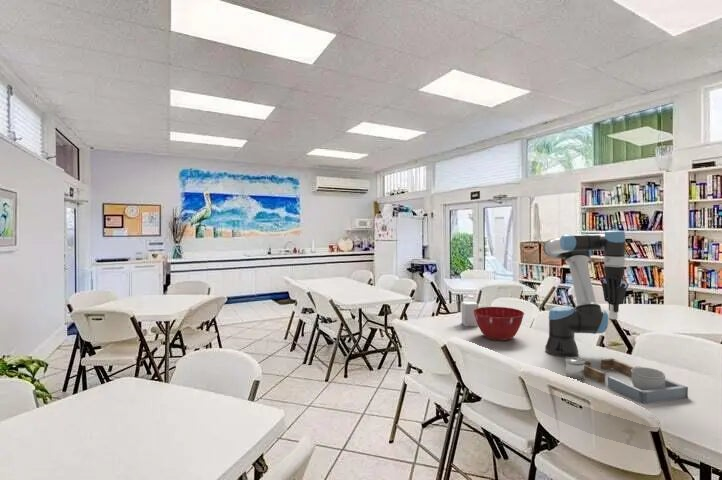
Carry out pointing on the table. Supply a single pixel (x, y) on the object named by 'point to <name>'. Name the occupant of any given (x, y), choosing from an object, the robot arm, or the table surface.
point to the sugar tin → (575, 368)
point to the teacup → (647, 378)
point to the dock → (650, 391)
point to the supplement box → (469, 313)
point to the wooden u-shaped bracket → (606, 364)
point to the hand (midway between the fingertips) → (613, 318)
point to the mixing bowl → (498, 322)
